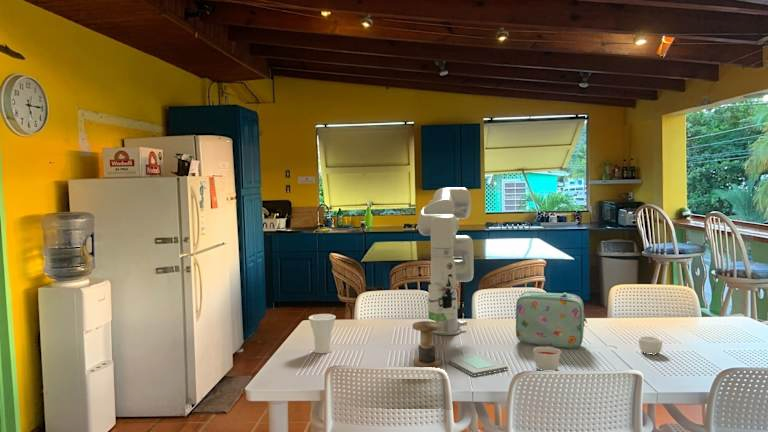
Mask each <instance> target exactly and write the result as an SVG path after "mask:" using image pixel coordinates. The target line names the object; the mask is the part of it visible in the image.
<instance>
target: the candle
mask: <svg viewBox="0 0 768 432" xmlns="http://www.w3.org/2000/svg"><path fill="white" fill-rule="evenodd" d="M561 353H562V352H561V350H560V349H558V348H557V347H548V346H536V347H534V348H533V355H534V361H535V366H536V368H537V367H538V368H539V369H542V370H556V369H557V370H558V368H559V365H560V364H559V363H560V358H561ZM538 368H537V369H538ZM539 369H538V370H539ZM542 370H541V371H542ZM557 370H556V371H557Z"/></svg>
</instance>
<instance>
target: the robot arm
mask: <svg viewBox="0 0 768 432" xmlns="http://www.w3.org/2000/svg"><path fill="white" fill-rule="evenodd" d="M471 213H472V196H471V193H470V191H469V190H468V188H466V187H441V188H438V189H437V190H436V191H435V192H434V194H433V199H431V200H429V201H428V204H427V205H425V206H423V207H422V208H421V210H420V211H419V215H418V220H417V229H418V232H419V234H420V235H422V236H426V237H427V236H428V237H429V236H430V258H431V259H430V267H429V268H430V279H429V282H430V283H429V284H436V285H438V286H441V287H442V288H443V293H444V296H443V308H451V307H452V296H453V292H454V290H455V289H456V318H455V319H449V320H444V321H438V322H437V321H435V322H437V323H440V324H441V328H440V329H439V330H435V331H433V334H435V335H441V336H455V335H458V334H461V333H462V328H461V327H465V326H467V325H468V323H467V321H466V320H464V321H461V320H458V291H457V287H456V286H457V283H468V282H471V281H472V280H473V278H474V274H475V269H474V267H475V266H474V264H475V262H474V259H475V257H474V241H473V238H471V236H470V235H465V234H464V235H463V234H462V235H460V234H459V235H457V233H458V231H460V230H459V229H460V220H465V219H468V218H469V217H470V215H471ZM457 258H461V259H457ZM446 285H448V287H446ZM446 289H448V290H447V292H446Z"/></svg>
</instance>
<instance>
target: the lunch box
mask: <svg viewBox="0 0 768 432" xmlns="http://www.w3.org/2000/svg"><path fill="white" fill-rule="evenodd" d="M584 308H585V307H584V301H583V299H582V298H581V297H580V296H579V295H576V294H574V293H567V292H566V291H565V292H563V293H561V292H559V293H558V292H545V291H543V292H542V291H532V290H530V291H529V290H528V291H524V292H523V293H521V295H519V297H518V298H517V300H516V305H515V336H516V338H517V340H518V341H520V342H521V343H524V344H533V345H540V346H544V345H545V346H544V347H548V346H553V348H563V347H564V348H565V349H576V348H579V347H580V346H581V345H582V344H583V339H584V331H585V328H584V327H585V323H586V324H587V323H588V321H587V317H585V313H584Z"/></svg>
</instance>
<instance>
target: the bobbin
mask: <svg viewBox="0 0 768 432" xmlns="http://www.w3.org/2000/svg"><path fill="white" fill-rule="evenodd" d="M440 328H441V324H440V323H437V322H436V321H433V320H431V321H429V320H425V321H424V320H423V321H415V322H413V323H412V329H413V330H415V331H420V345H418V356H416V357H414V358H413V360H412V364H413V365H414V366H416V367H418V366H422V367H421V368H423V367H432V368H438V367H440V366H441V364H442V360H441V358H439V357H437V356H436V345H434V333H433V331H435V330H439V329H440Z"/></svg>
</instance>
